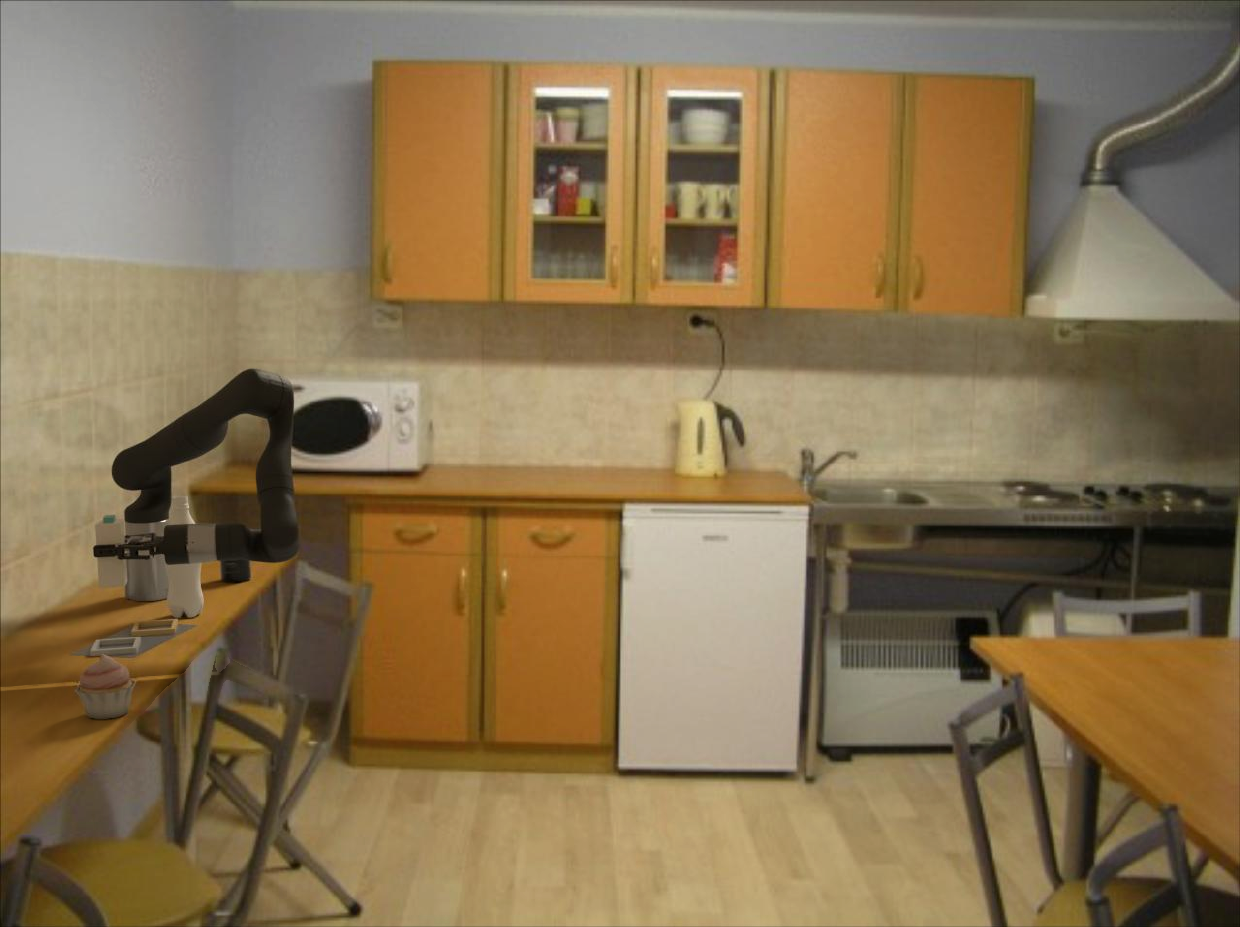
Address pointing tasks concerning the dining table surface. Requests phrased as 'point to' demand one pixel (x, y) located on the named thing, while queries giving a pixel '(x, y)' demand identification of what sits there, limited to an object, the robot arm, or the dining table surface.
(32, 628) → the dining table surface
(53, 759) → the dining table surface
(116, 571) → the white tall box
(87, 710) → the cupcake
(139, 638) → the panel
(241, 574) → the supplement bottle
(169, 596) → the water bottle
